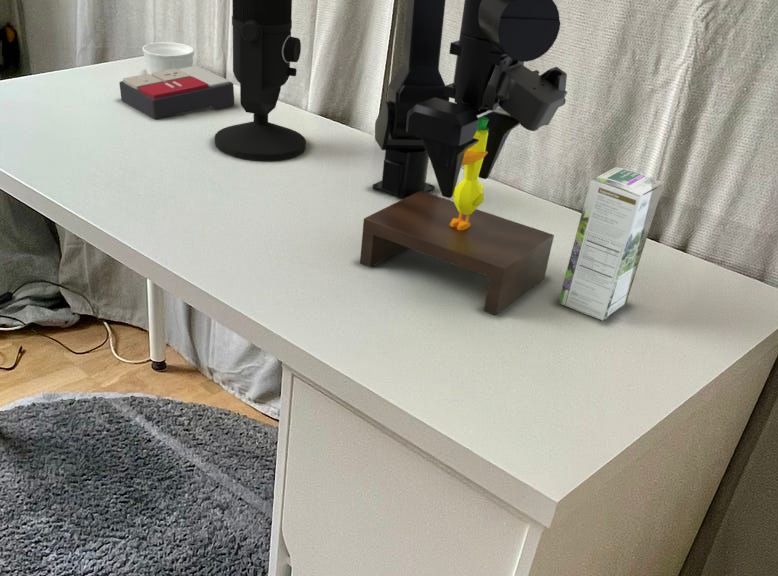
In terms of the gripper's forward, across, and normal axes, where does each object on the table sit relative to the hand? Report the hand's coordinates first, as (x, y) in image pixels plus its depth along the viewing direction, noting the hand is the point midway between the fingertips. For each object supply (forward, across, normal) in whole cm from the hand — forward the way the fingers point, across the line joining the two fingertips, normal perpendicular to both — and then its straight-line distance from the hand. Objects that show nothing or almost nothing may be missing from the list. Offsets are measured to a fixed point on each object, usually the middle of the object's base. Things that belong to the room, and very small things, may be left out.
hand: (465, 187), depth 97 cm
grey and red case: (+10, +21, +65) cm, 69 cm away
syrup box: (+10, +4, -16) cm, 19 cm away
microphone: (+10, +16, +43) cm, 47 cm away
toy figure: (+5, 0, 0) cm, 5 cm away
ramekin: (+10, +32, +78) cm, 85 cm away
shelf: (+10, 0, 0) cm, 10 cm away
